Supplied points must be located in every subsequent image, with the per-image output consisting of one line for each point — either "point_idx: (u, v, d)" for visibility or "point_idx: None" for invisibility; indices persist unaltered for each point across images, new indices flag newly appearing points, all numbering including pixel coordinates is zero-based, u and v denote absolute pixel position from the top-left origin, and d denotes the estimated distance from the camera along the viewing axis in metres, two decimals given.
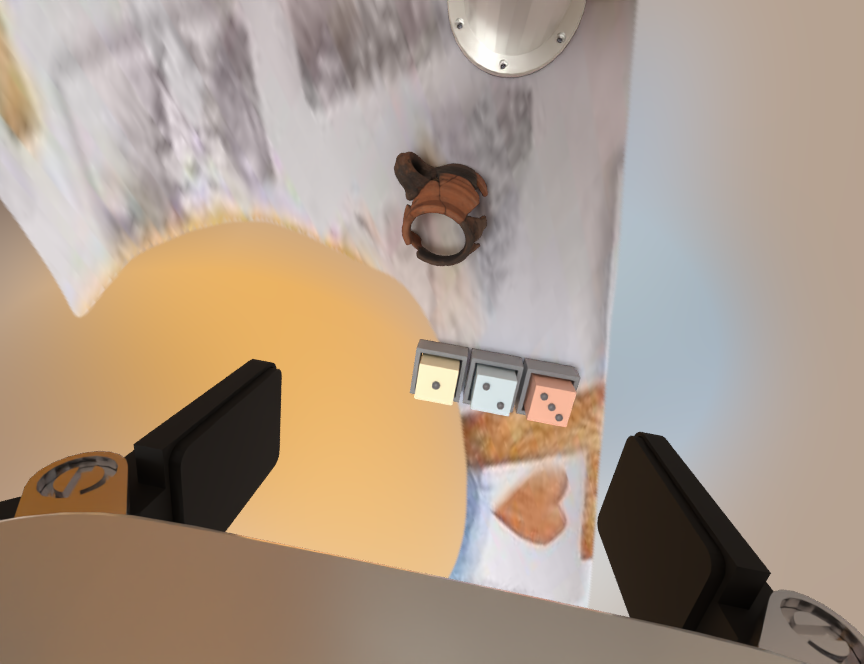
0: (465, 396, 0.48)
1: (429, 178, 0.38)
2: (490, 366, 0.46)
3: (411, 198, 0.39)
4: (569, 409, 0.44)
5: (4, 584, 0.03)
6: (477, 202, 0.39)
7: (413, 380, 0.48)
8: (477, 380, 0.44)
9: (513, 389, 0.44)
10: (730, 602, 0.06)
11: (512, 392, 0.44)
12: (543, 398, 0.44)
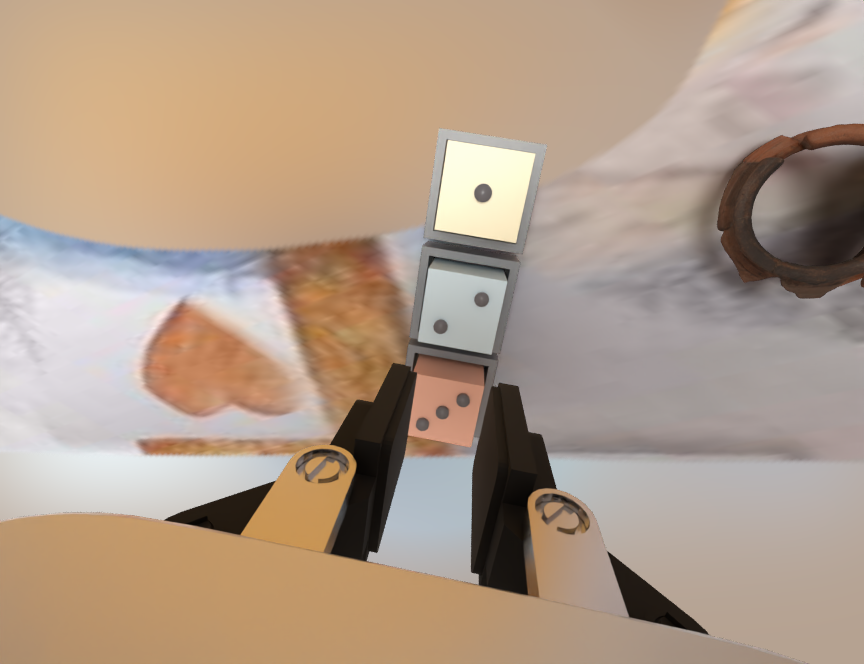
0: (437, 251, 0.24)
1: None
2: None
3: None
4: (438, 438, 0.26)
5: (4, 584, 0.03)
6: None
7: (469, 136, 0.22)
8: (493, 281, 0.22)
9: (475, 348, 0.23)
10: (511, 501, 0.08)
11: (468, 347, 0.23)
12: (460, 399, 0.24)
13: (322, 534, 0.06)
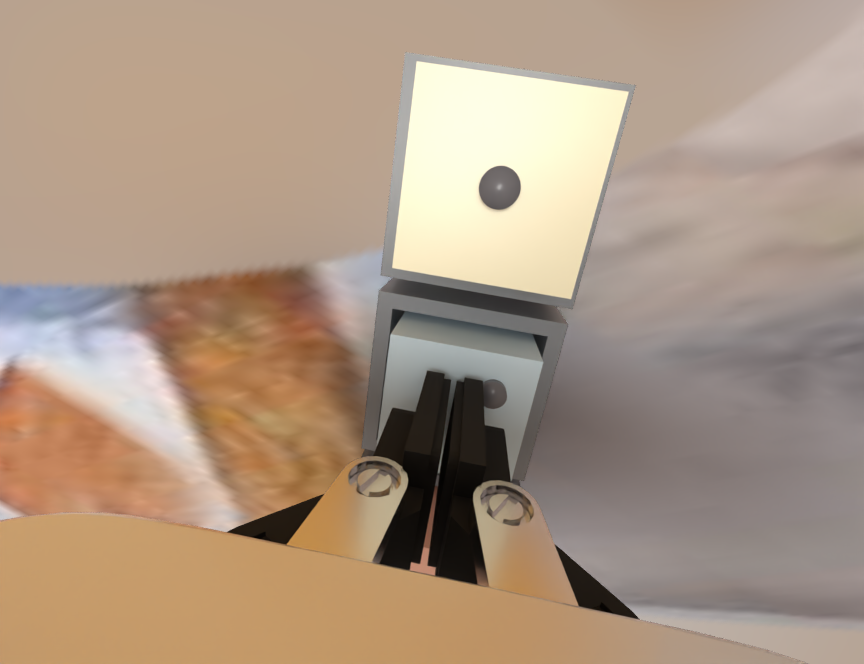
0: (407, 300, 0.13)
1: None
2: None
3: None
4: None
5: (4, 584, 0.03)
6: None
7: None
8: (516, 361, 0.11)
9: None
10: (461, 493, 0.08)
11: None
12: None
13: (367, 551, 0.06)
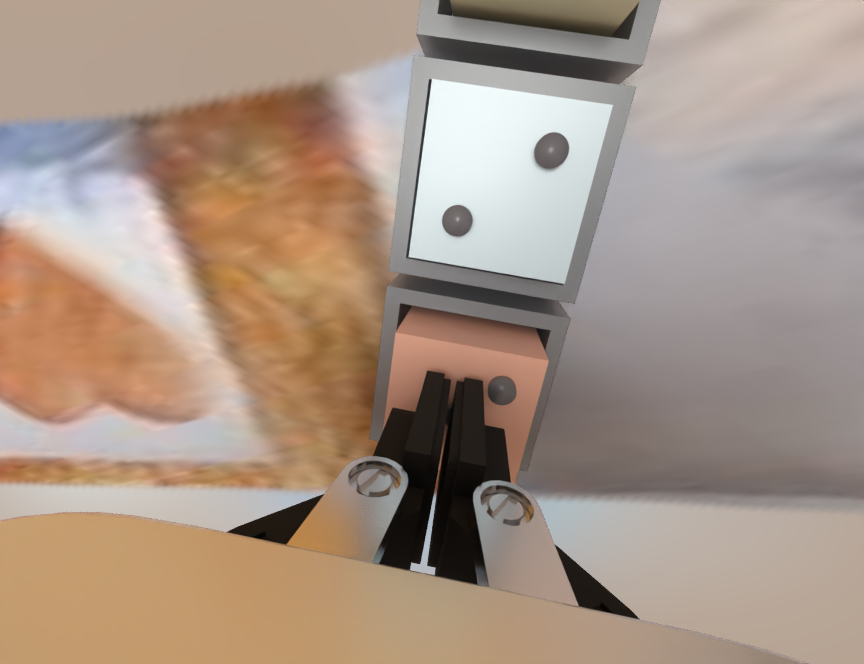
0: (446, 66, 0.11)
1: None
2: None
3: None
4: None
5: (4, 584, 0.03)
6: None
7: None
8: (580, 106, 0.10)
9: (529, 270, 0.11)
10: (461, 493, 0.08)
11: (516, 267, 0.11)
12: (496, 389, 0.11)
13: (367, 552, 0.06)
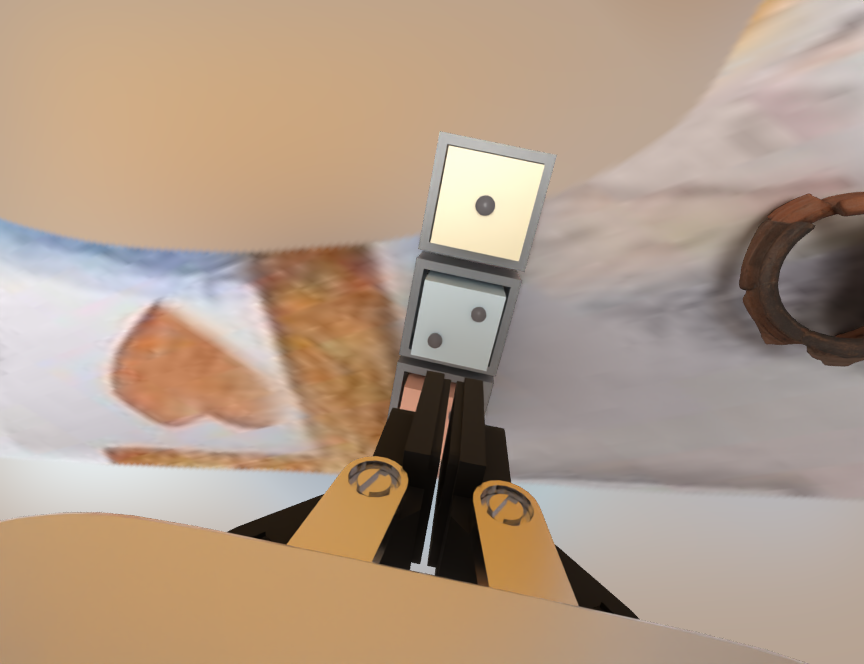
0: (432, 264, 0.22)
1: None
2: None
3: None
4: None
5: (4, 583, 0.03)
6: None
7: (472, 142, 0.20)
8: (491, 296, 0.21)
9: (469, 364, 0.22)
10: (461, 493, 0.08)
11: (463, 362, 0.22)
12: None
13: (368, 552, 0.06)
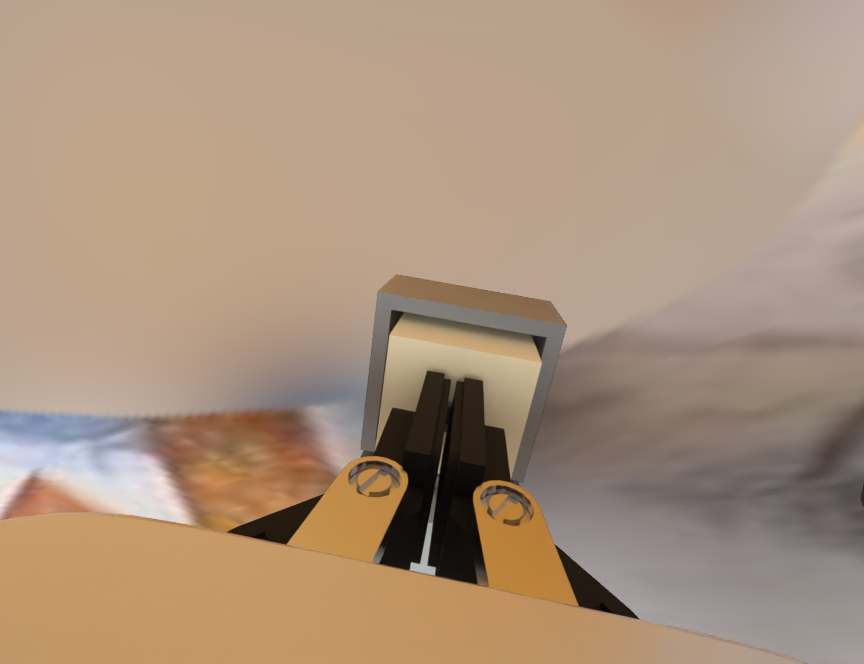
0: None
1: None
2: None
3: None
4: None
5: (4, 584, 0.03)
6: None
7: (431, 307, 0.13)
8: None
9: None
10: (461, 493, 0.08)
11: None
12: None
13: (368, 552, 0.06)
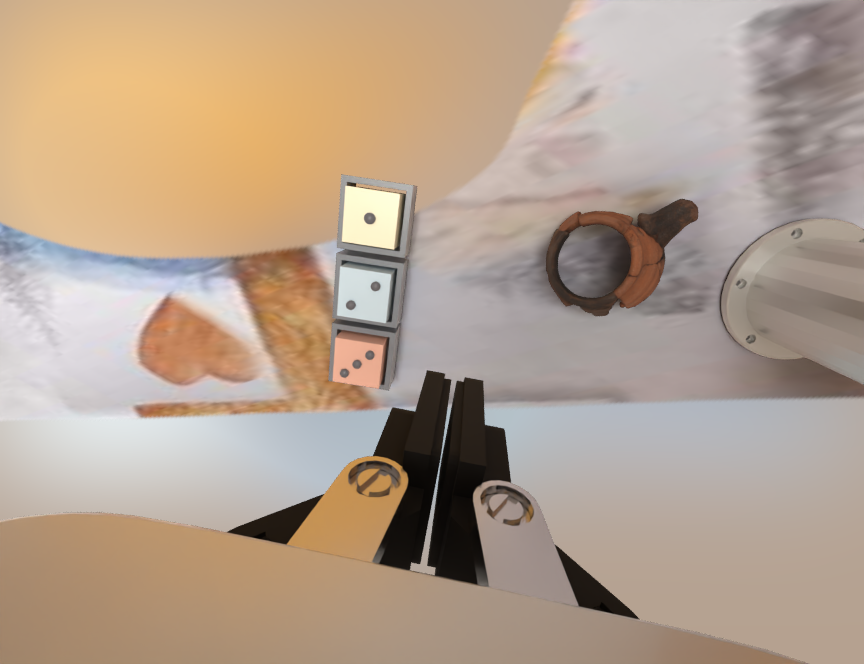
0: (346, 256, 0.35)
1: None
2: (394, 284, 0.37)
3: (642, 225, 0.30)
4: (356, 382, 0.37)
5: (4, 584, 0.03)
6: (629, 307, 0.32)
7: (362, 180, 0.33)
8: (382, 274, 0.34)
9: (374, 319, 0.35)
10: (461, 493, 0.08)
11: (370, 318, 0.35)
12: (367, 354, 0.36)
13: (368, 551, 0.06)
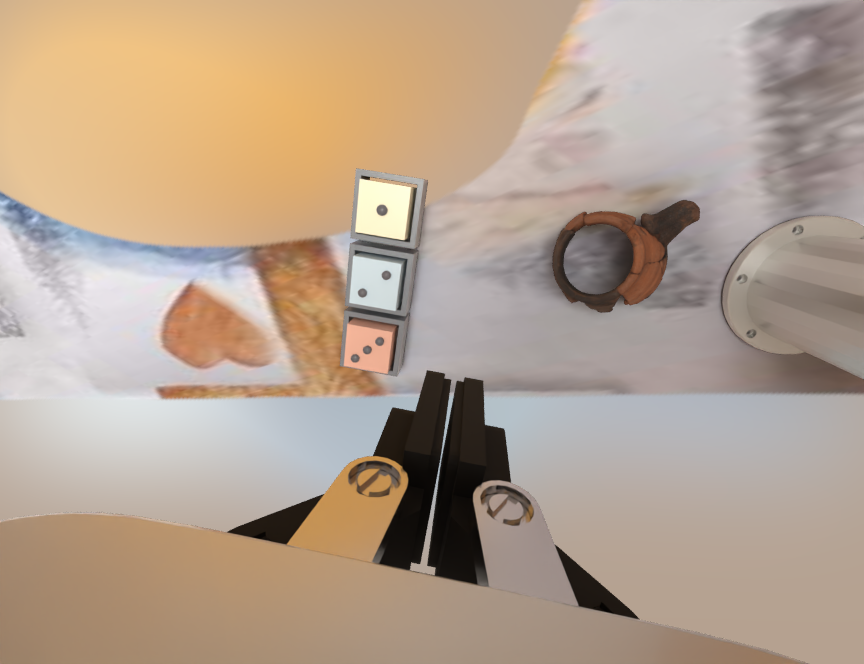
0: (359, 246, 0.37)
1: None
2: (404, 275, 0.39)
3: (645, 225, 0.32)
4: (366, 368, 0.39)
5: (4, 584, 0.03)
6: (632, 303, 0.34)
7: (375, 173, 0.35)
8: (393, 264, 0.35)
9: (385, 307, 0.37)
10: (461, 493, 0.08)
11: (381, 306, 0.37)
12: (377, 340, 0.38)
13: (367, 551, 0.06)
